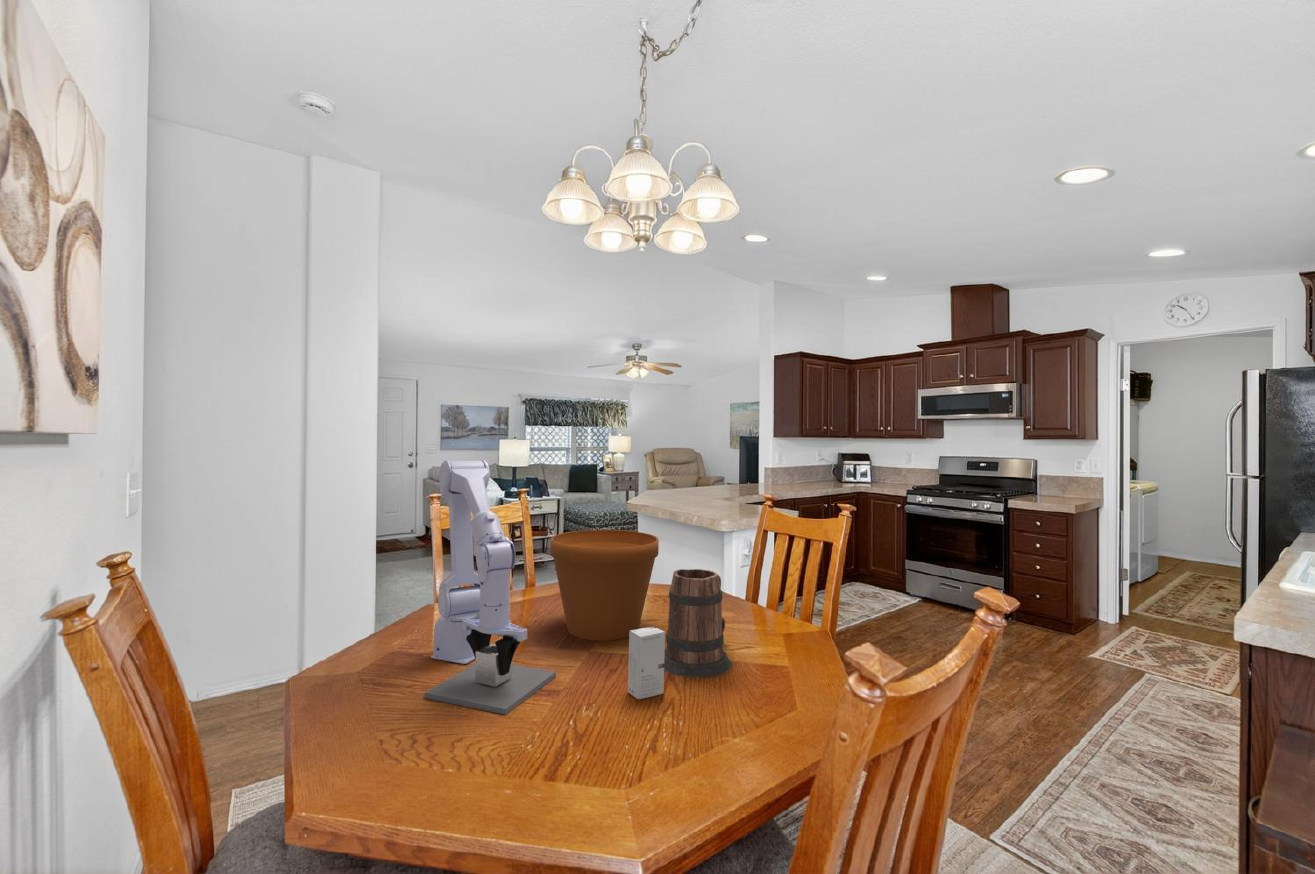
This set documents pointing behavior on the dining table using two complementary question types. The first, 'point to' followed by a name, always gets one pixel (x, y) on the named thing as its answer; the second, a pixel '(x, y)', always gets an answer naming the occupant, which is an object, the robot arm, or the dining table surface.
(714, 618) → the tankard
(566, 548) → the flowerpot
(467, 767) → the dining table surface
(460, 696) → the block
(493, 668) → the square socket
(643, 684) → the skincare box
